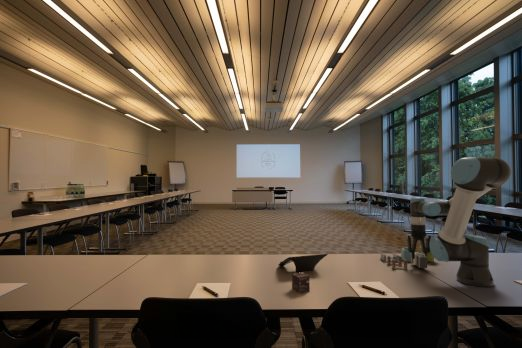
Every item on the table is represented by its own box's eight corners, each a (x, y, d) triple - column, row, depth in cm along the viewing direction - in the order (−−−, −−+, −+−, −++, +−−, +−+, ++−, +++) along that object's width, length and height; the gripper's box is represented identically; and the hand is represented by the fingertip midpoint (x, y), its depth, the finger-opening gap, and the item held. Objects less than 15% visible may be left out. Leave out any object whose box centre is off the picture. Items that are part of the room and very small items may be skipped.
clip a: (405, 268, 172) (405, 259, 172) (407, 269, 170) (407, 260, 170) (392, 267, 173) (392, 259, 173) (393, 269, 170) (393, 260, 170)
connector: (409, 259, 191) (409, 246, 191) (412, 261, 186) (412, 248, 186) (401, 259, 191) (401, 246, 192) (404, 261, 186) (404, 248, 187)
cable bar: (418, 262, 180) (417, 252, 180) (427, 268, 168) (427, 257, 168) (410, 262, 180) (410, 252, 180) (419, 268, 168) (419, 257, 168)
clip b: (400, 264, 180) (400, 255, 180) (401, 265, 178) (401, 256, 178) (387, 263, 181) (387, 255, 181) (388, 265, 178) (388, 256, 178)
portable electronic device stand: (312, 274, 180) (309, 259, 184) (330, 267, 160) (326, 249, 164) (277, 278, 173) (274, 262, 177) (291, 271, 153) (288, 253, 157)
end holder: (394, 258, 192) (393, 252, 192) (398, 262, 184) (398, 255, 184) (380, 258, 193) (380, 252, 193) (384, 262, 185) (384, 255, 185)
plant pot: (439, 261, 186) (439, 247, 187) (432, 263, 181) (432, 249, 181) (424, 258, 194) (424, 244, 194) (416, 260, 189) (416, 246, 189)
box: (298, 293, 134) (298, 277, 134) (291, 289, 140) (291, 273, 140) (309, 291, 136) (309, 275, 137) (302, 287, 142) (302, 272, 142)
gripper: (430, 223, 178) (431, 263, 176) (400, 223, 179) (401, 262, 178) (436, 224, 170) (437, 266, 169) (405, 224, 172) (406, 266, 170)
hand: (419, 264), depth 173 cm, fingers closed on cable bar, 4 cm apart
